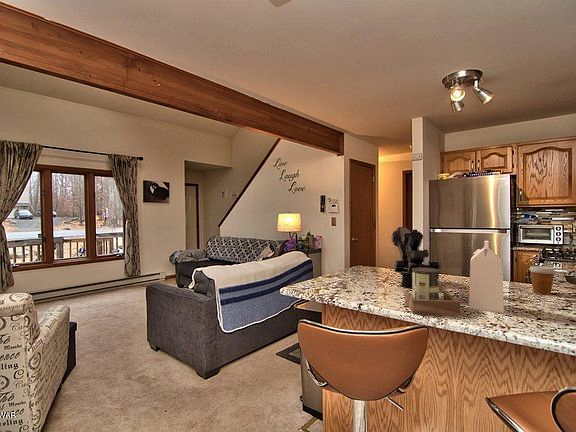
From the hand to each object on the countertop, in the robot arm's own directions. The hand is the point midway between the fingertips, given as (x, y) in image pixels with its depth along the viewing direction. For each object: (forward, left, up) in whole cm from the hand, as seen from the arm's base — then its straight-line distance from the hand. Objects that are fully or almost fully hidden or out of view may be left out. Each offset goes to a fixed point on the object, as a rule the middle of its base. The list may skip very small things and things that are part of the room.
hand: (419, 282), depth 141 cm
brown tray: (+11, +11, -7) cm, 16 cm away
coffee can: (+6, +6, -7) cm, 11 cm away
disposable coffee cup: (-51, +30, -7) cm, 60 cm away
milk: (-9, +23, -7) cm, 26 cm away
